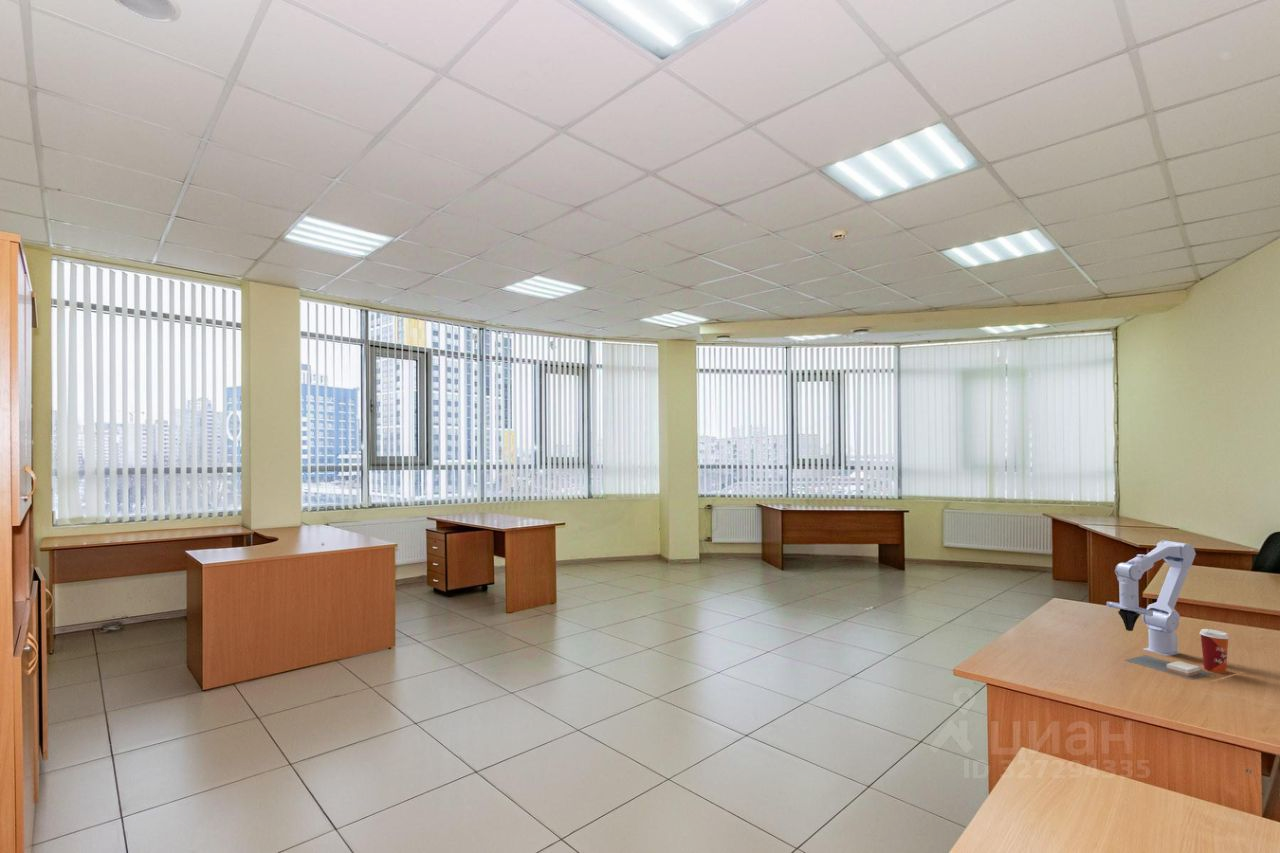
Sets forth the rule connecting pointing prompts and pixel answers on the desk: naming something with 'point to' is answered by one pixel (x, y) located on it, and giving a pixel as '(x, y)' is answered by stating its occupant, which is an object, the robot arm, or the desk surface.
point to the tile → (1183, 668)
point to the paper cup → (1214, 650)
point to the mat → (1161, 665)
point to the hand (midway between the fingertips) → (1129, 630)
